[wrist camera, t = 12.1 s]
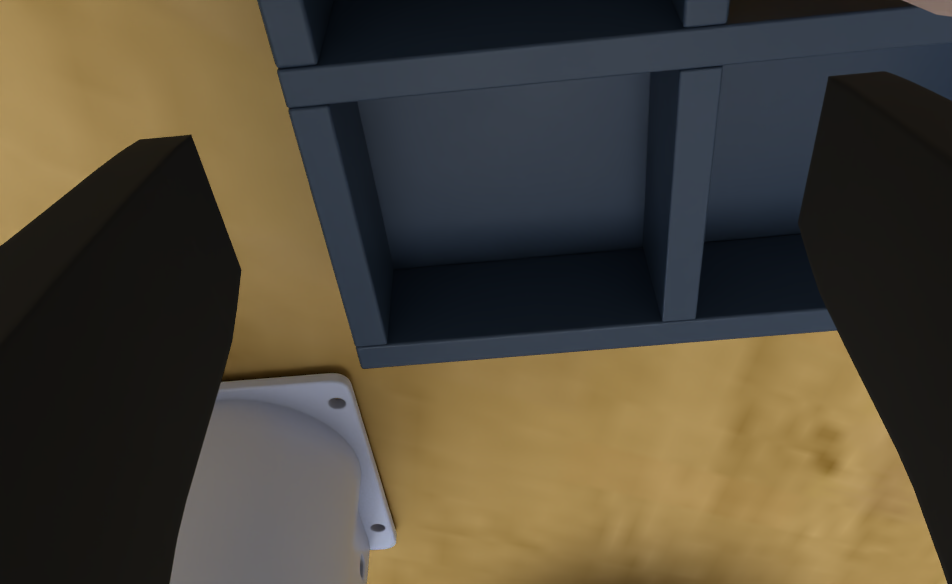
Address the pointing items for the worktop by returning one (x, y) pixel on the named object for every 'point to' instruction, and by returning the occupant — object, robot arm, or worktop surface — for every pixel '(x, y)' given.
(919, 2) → the egg
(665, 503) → the worktop surface
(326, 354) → the worktop surface
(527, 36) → the divided tray
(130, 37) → the worktop surface
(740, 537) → the worktop surface
